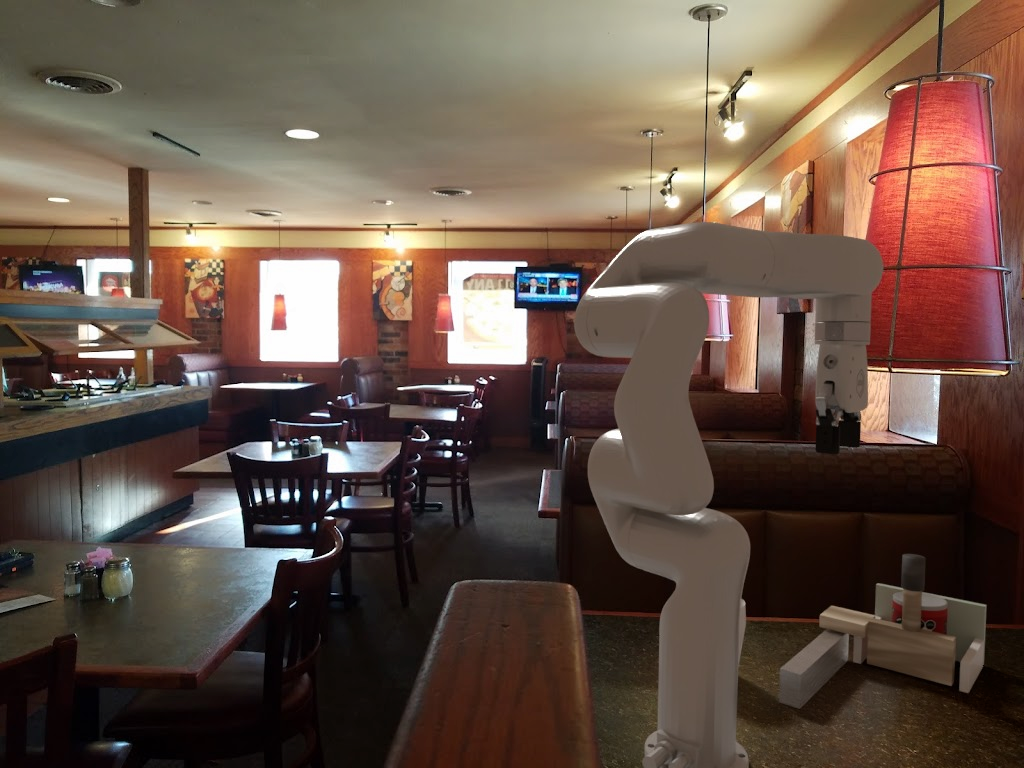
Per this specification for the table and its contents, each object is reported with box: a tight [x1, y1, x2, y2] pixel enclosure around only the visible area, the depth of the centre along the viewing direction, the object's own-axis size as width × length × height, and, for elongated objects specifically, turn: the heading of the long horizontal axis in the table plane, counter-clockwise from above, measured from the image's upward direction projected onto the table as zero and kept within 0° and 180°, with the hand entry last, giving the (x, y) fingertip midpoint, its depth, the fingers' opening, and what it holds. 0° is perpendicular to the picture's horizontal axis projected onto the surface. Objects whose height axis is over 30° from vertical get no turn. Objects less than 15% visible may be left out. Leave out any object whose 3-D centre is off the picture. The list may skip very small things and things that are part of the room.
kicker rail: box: [778, 628, 850, 710], centre depth 115 cm, size 22×3×5 cm, turn 139°
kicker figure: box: [818, 553, 956, 687], centre depth 119 cm, size 6×19×18 cm, turn 49°
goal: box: [852, 583, 988, 694], centre depth 122 cm, size 13×16×10 cm
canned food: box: [892, 592, 948, 635], centre depth 121 cm, size 8×8×11 cm
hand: (838, 449), depth 111 cm, fingers open, 9 cm apart
